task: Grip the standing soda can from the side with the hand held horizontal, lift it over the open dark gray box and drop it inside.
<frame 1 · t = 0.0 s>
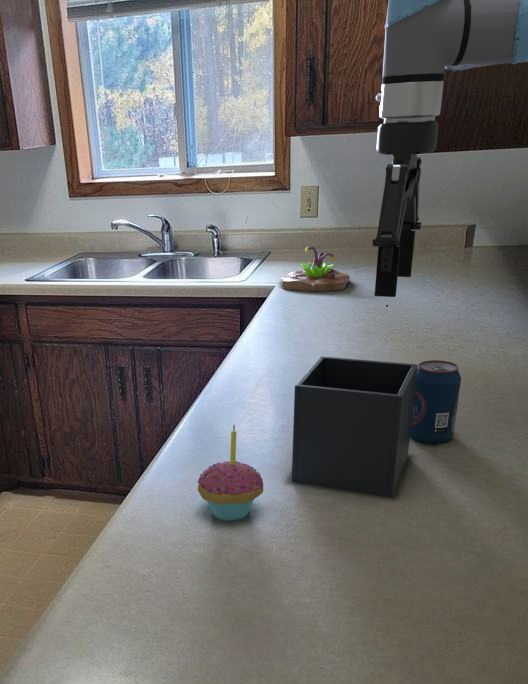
hand: (393, 286, 105), 25 cm above the worktop, tool pointing down, fingers open, 13 cm apart
soda can: (429, 439, 117), on the worktop
cupcake: (230, 515, 98), on the worktop
open dark gray box: (350, 471, 108), on the worktop
plant: (314, 285, 223), on the worktop
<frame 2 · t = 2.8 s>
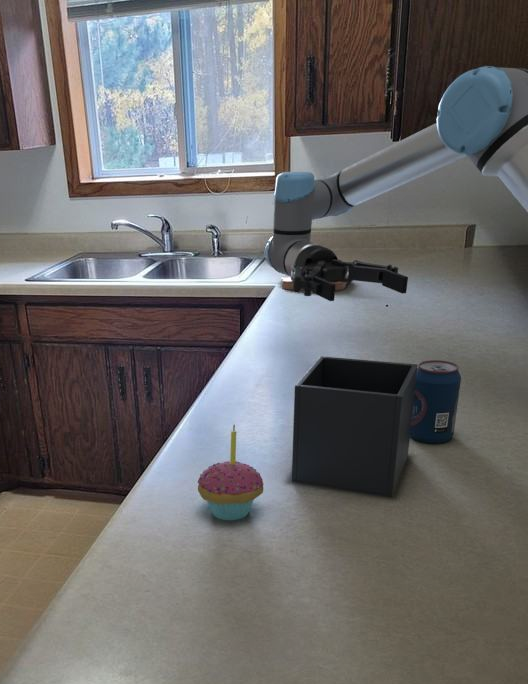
hand: (369, 289, 123), 20 cm above the worktop, tool horizontal, fingers open, 13 cm apart
nothing on the worktop moved.
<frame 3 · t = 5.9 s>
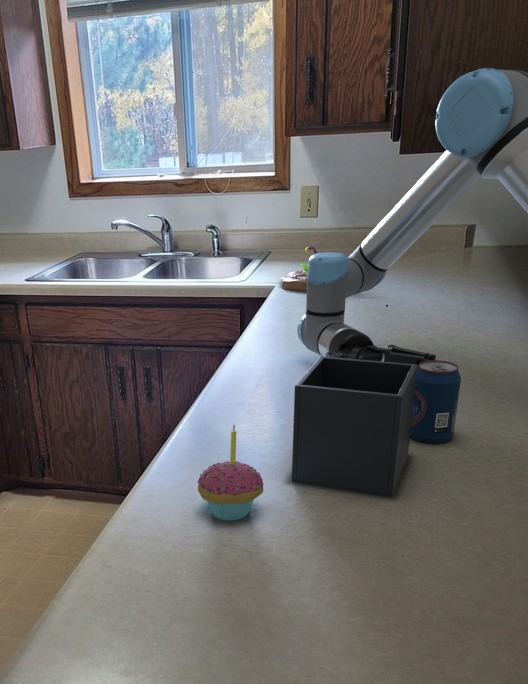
hand: (407, 382, 121), 7 cm above the worktop, tool horizontal, fingers open, 13 cm apart
nothing on the worktop moved.
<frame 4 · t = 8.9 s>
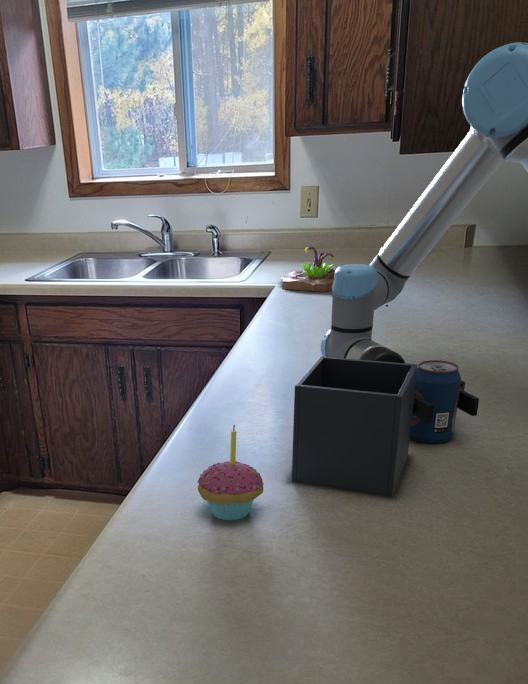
hand: (453, 410, 110), 6 cm above the worktop, tool horizontal, fingers closed on soda can, 7 cm apart
soda can: (429, 439, 117), on the worktop, touching gripper
everything else where it was.
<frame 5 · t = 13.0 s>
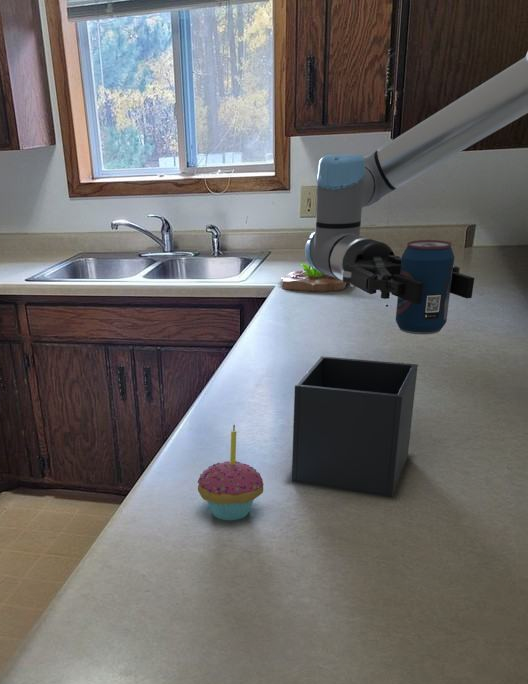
hand: (445, 290, 99), 25 cm above the worktop, tool horizontal, fingers closed on soda can, 7 cm apart
soda can: (419, 330, 106), point 18 cm above the worktop, touching gripper
everything else where it was.
when the fingers open (19 cm above the worktop, at t = 17.3 s): soda can drops 12 cm, resting on open dark gray box.
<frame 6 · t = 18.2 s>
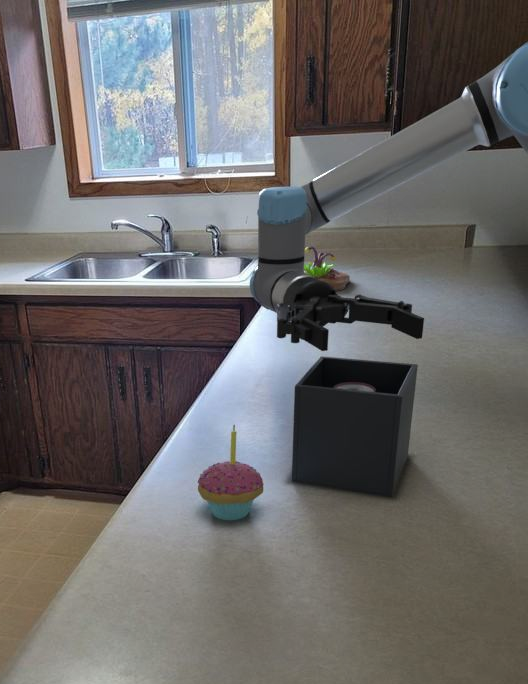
hand: (373, 334, 95), 21 cm above the worktop, tool horizontal, fingers open, 13 cm apart
soda can: (348, 468, 107), point 1 cm above the worktop, touching open dark gray box
everything else where it was.
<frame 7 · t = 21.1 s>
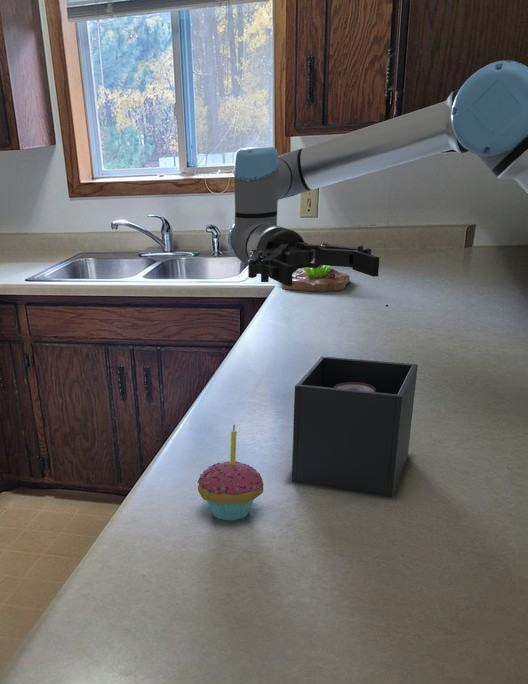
hand: (334, 271, 106), 27 cm above the worktop, tool horizontal, fingers open, 13 cm apart
nothing on the worktop moved.
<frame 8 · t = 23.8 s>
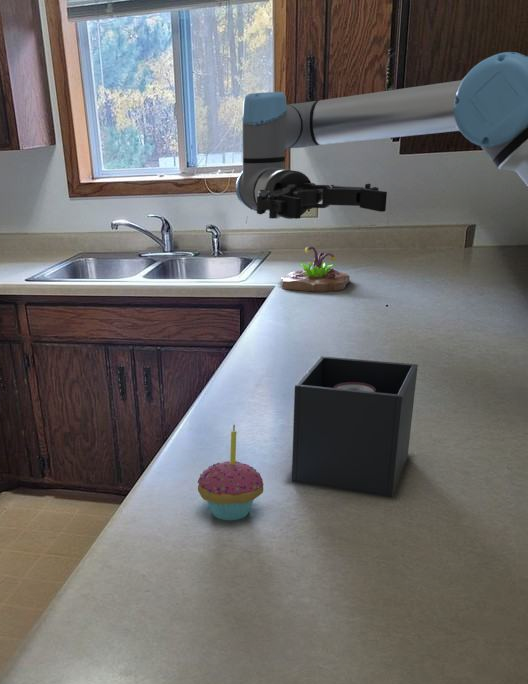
hand: (341, 205, 107), 35 cm above the worktop, tool horizontal, fingers open, 13 cm apart
nothing on the worktop moved.
at the end: soda can inside the target area in the open dark gray box (0.4 cm from its centre), point 0.6 cm above the open dark gray box's base; the gripper is holding nothing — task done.
